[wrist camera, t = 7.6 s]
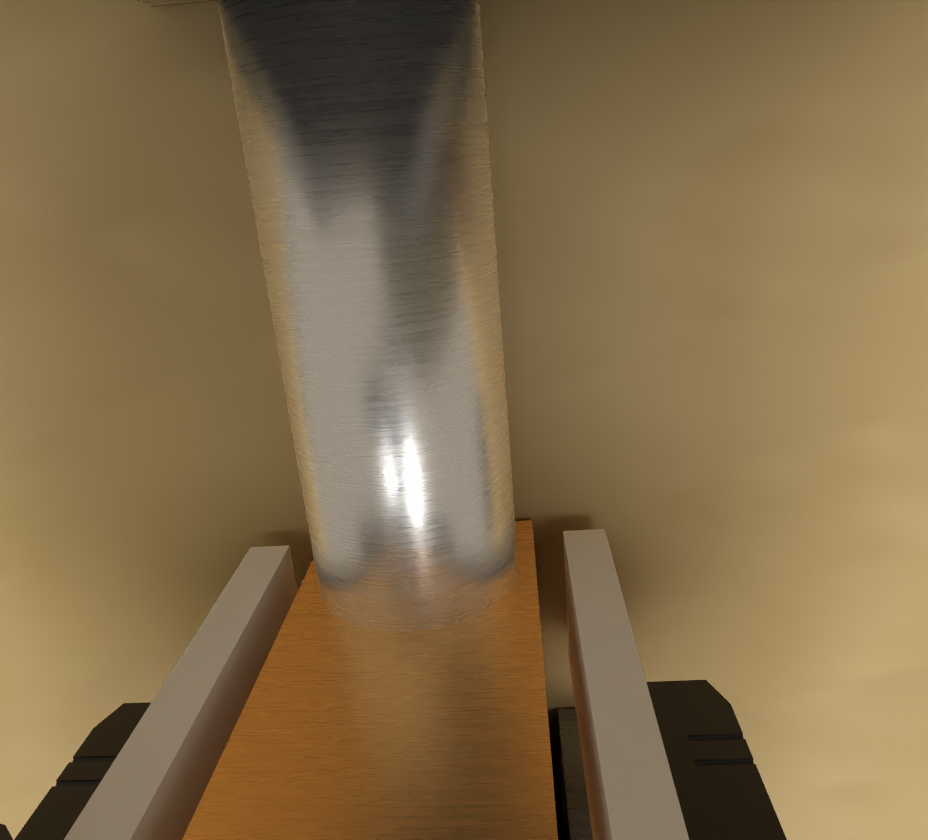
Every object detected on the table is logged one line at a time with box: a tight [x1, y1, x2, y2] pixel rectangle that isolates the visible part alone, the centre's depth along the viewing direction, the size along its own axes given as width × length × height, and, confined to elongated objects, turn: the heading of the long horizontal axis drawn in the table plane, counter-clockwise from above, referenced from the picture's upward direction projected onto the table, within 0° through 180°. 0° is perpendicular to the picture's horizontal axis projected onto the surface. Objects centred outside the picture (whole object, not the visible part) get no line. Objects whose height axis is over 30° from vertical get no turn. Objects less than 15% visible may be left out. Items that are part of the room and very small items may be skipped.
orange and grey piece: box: [182, 0, 558, 840], centre depth 10 cm, size 19×4×10 cm, turn 5°
